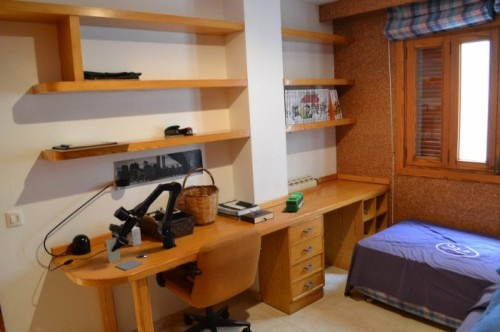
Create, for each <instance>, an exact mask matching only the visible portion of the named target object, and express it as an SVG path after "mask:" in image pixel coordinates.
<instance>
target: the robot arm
mask: <svg viewBox="0 0 500 332" xmlns="http://www.w3.org/2000/svg"><path fill="white" fill-rule="evenodd" d="M182 191H183V185H182V183H180V182H177V181H175V180H174V181H171V182H166V183H159V184H158V185H157V186H156V187H155V188H154V190H153V191H152V192H150V194H149V195H148V196H147V197H146V198H145V199H144V200H143V201H142V202H140V203H138V204H137V205H136V206H134V208H131V209H129V210H127V209H126V208H125V207H123V206H122V205H120V207H119V208H117V209H116V210H115V211H114V213H113V217H114V218H115V219H117V220H119V221H120V222H121V224H120V225H118V224H114V223H110V224H109V227H108V231H110V232H111V238H115V237H116V238H117V239H116V243H115V245H114V247H113V248H112V250H111V251H112V252H114V251H116V250H117V249H119V250H120V249H121V248H122V247H125V246H128V245H129V244H128V243H129V240H128V239H127V236H128V234H129V233H130V232H132V229H133V228H134V226H135V227H136V225H137V224H140V225H142V219H141V218H143V217H145V216H146V214H147V213H148V210H149V208H150V207H151V206H152V204H153V203H154V202H155V201H156V200H157V199H158V198H159V197H160V196H161V195H162V194H163V192H168V200H167V204H166V208H165V211H164V214H163V219H162V220H161V221H160V220H159V221H158V226H157V231H158V233H159V234H160V235H161V236H162V246H161V247H162V248H164V249H165V250H166V249H167V250H170V249H172V248H174V247H177V246H178V245H177V244H176V240H175V237H176V233H175V232H173V231H172V218H173V215H174V211H175V206H176V202H177V198H178V197H179V195H180V194H181V192H182ZM122 222H124V223H122Z"/></svg>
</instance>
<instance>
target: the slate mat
mask: <svg viewBox="0 0 500 332" xmlns="http://www.w3.org/2000/svg"><path fill="white" fill-rule="evenodd" d="M142 265H143V262H140V261H137V260H134V259H129V260H126V261H123V262H122V263H119V264H116V265H115V266H114V267H115V268H118V269H120V270H123V271H129V270H131V269H134V268H136V267H139V266H142Z"/></svg>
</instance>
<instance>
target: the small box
mask: <svg viewBox="0 0 500 332" xmlns="http://www.w3.org/2000/svg"><path fill="white" fill-rule="evenodd" d="M141 237H142V236H141V228H140V227H138V226H136V225H135V226H134V228H133V229H132V232H130V233H129V234H128V236H127V239H128V240H129V243H128V245H130V246H132V247H136V246H139V245H142V239H141Z"/></svg>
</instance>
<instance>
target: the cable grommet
mask: <svg viewBox="0 0 500 332" xmlns="http://www.w3.org/2000/svg"><path fill="white" fill-rule="evenodd" d="M147 257H148V253H140V254H137V255H136V258H137V259H144V258H147Z"/></svg>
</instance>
